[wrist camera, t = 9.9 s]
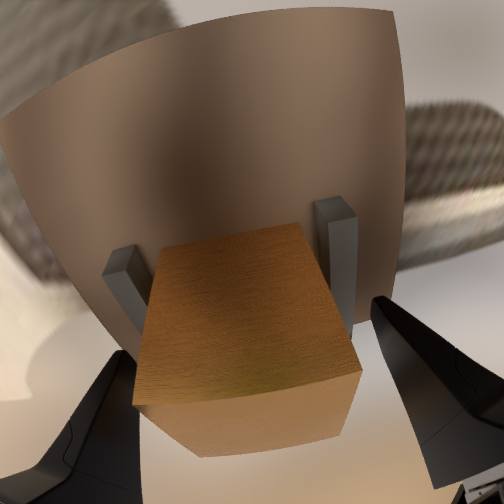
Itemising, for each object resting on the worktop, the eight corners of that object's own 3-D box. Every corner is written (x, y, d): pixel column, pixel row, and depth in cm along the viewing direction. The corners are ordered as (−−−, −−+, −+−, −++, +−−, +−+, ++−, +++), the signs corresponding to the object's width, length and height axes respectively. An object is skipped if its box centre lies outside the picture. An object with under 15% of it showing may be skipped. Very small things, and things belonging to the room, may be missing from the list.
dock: (371, 15, 7) (419, 6, 5) (377, 294, 15) (399, 334, 13) (16, 115, 7) (-31, 137, 5) (141, 346, 16) (134, 389, 13)
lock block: (298, 222, 10) (362, 370, 5) (303, 315, 13) (339, 435, 8) (160, 248, 10) (132, 404, 5) (198, 334, 13) (199, 457, 8)
